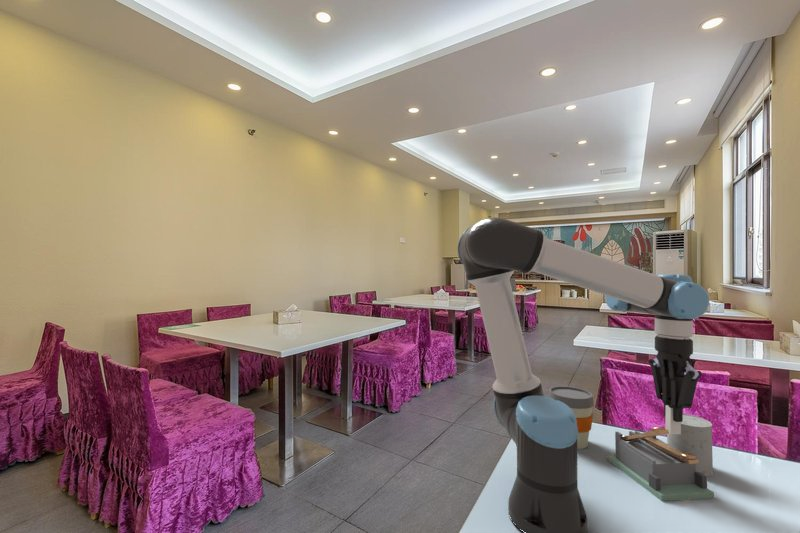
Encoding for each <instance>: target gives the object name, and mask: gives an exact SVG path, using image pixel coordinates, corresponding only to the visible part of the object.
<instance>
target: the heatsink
mask: <svg viewBox="0 0 800 533" xmlns="http://www.w3.org/2000/svg"><path fill="white" fill-rule="evenodd" d="M651 431H652V430H647V432H651ZM640 433H641V432H640V431H638V430H634V431H632V430H629V431H628V436H630V435H635V434H640ZM614 434H615V435H614V437H615V444H614V445H615V454H607V461H609V462H610V463H611V464H612V465H614V466H615V467H616V468H618V469H620V470H621V471H622V472H623V474H626V476H628V477H629V478H631V479H632V480H634V481H635V482H636V483H637V484H639V485H640V486H641V487H642V488H644V489H645V490H646V491H648V492H649V493H651V495H653V496H654V497H655V498H657V499H658V500H659V501H661V502H662V501H681V500H703V499H715V492H714V491H712V490H710V489H709V488H708V476H706V475H704V474H702V473H700V472H696V464H688V463H686V462H684V461H682V460H680V459H678V458H676V457H674V456H672V455H670V454H668V453H666V452H665V451H663V450H661V449H659V448H657V447H655V446H653V445H651V444H649V443H647V442H645V441H643V440H642V438H640V439H635V440H632V441H628V442H626V441H624V440H623V436H624V435H623V434H622V432H619V431H615V432H614ZM652 438H654V439H656V440H658V441H660V442H662V443H665V444H667V442H665V441H663V440H661V439H659V438H657V436H652ZM667 445H668V444H667ZM669 446H670V445H669ZM671 447H672V446H671ZM673 448H674V447H673ZM675 449H676V448H675Z"/></svg>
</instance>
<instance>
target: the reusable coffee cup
mask: <svg viewBox="0 0 800 533" xmlns="http://www.w3.org/2000/svg"><path fill="white" fill-rule="evenodd" d="M548 397H550V398H553V399H554V400H556V401H557V400H559V401H561V402H563V403H564V404H566V405H567V406H568V407H570V408H571V409H572V411H573V412H574V414H575V416H576V421H577V427H578V438H577V450H579V449H580V450H583V449H586V448H588V443H589V435H590V432H591V430H592V425H593V424H592V423H593V417H594V413H593V407H594V405H595V402H594V395H593V393H592V392H590V391H588V390H587V389H582V388H579V387H574V386H566V385H564V386H563V385H559V386H552V387H550V388H549V391H548Z"/></svg>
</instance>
